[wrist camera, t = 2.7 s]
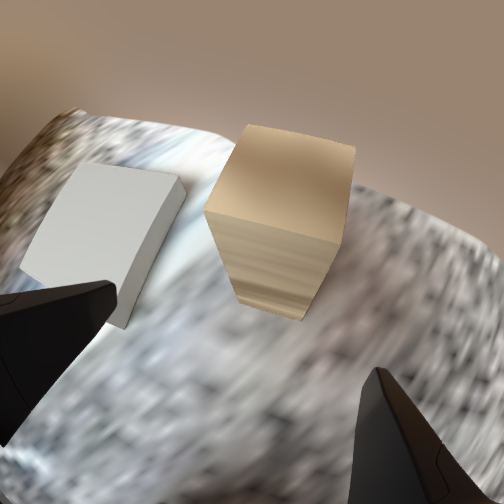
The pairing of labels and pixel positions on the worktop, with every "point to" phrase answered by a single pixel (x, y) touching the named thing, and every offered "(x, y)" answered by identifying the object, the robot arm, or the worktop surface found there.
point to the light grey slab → (105, 231)
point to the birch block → (280, 216)
